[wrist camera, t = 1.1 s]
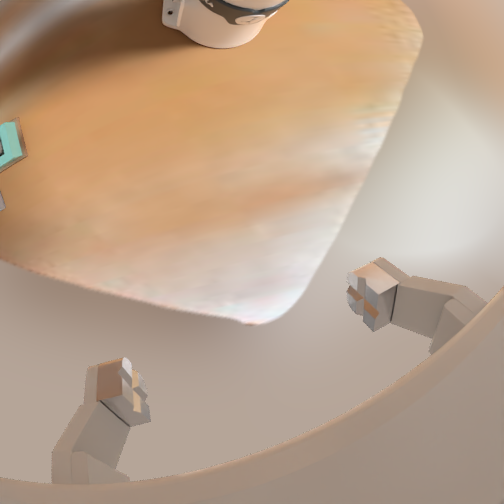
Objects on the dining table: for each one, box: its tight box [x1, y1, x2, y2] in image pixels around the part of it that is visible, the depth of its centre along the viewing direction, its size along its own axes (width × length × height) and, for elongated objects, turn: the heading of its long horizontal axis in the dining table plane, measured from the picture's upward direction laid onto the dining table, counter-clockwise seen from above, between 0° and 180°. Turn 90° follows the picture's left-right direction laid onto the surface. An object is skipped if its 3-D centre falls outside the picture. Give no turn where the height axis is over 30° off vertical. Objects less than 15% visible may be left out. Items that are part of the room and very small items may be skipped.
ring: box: [0, 122, 22, 169], centre depth 26 cm, size 6×6×4 cm
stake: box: [0, 118, 28, 173], centre depth 26 cm, size 7×7×5 cm
